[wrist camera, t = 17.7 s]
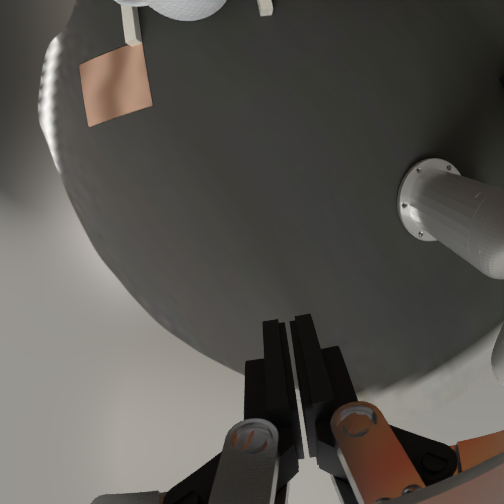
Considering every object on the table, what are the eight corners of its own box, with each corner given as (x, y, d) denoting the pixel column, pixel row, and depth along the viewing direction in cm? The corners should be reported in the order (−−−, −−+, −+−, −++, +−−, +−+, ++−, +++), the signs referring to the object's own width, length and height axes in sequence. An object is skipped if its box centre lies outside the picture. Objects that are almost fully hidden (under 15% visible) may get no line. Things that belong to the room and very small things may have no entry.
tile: (141, 40, 33) (141, 40, 33) (152, 105, 36) (152, 105, 36) (79, 65, 33) (79, 65, 33) (89, 127, 37) (88, 127, 37)
